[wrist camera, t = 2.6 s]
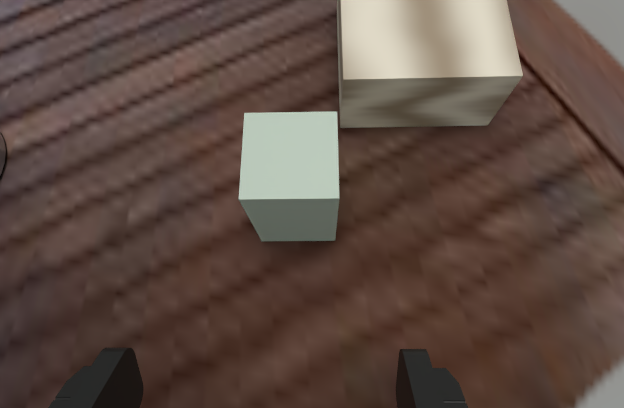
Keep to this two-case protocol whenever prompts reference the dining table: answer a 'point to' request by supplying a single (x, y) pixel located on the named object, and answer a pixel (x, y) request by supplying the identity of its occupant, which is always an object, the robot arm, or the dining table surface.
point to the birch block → (424, 62)
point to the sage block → (291, 175)
